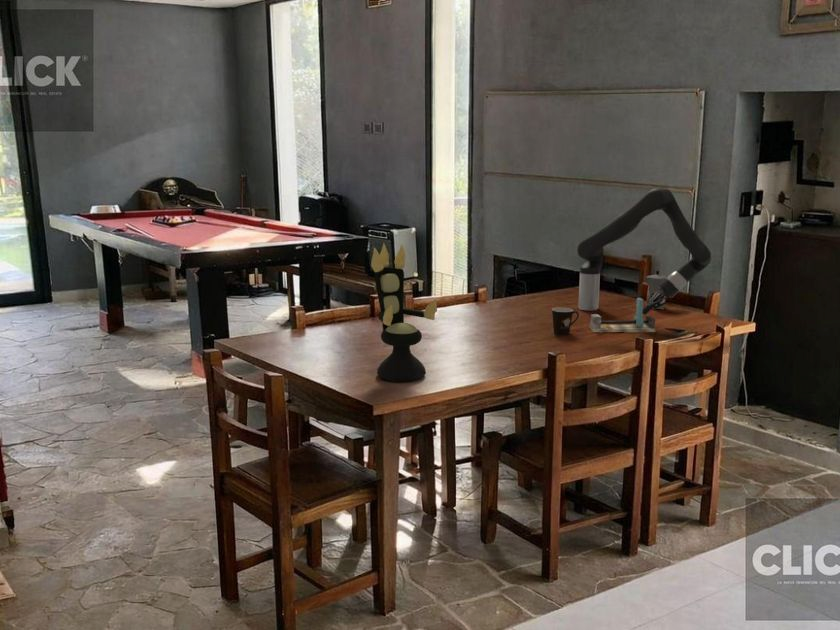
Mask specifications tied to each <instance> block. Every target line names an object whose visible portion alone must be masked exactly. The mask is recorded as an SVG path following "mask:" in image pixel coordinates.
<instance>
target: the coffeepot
mask: <svg viewBox="0 0 840 630" xmlns="http://www.w3.org/2000/svg"><path fill="white" fill-rule="evenodd" d="M668 276H669V275H662V274H660V271H659V270H656V272H655V274H652V275H647V276H644V277H643V280H645V282H646V284H647V286H648V294H647V295H648V297H647V300H648V299H649V297H650V295H651V294H652V293H653V294H655V293H656V292H657V291H659V290H660V288H659V285H660V284H661V283H662V282H663V281H664V280H665V279H666V278H667V277H668ZM646 305H647V303H646V304H645V306H646ZM665 306H666V305H665V304H664V305H662V306H660V307H658V308H656V309H662V308H665ZM665 309H666V308H665Z"/></svg>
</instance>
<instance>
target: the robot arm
mask: <svg viewBox="0 0 840 630" xmlns="http://www.w3.org/2000/svg"><path fill="white" fill-rule="evenodd" d="M660 210H661V211H663V212H664V214H666V215H667V217H668V218H669V220H670V223H671V225H672V228H673V231H674V234H675V236H676V237H677V239H678V240H679V242H680V243H681V245H682V246H683V247H684V248H685V249H687V251H688V252H689V254H690V255H691V256H692V257H691V258H690V259H689V260H688V261H687V262H683V263H682V264H681V265H679V267H678V268H677V269H675V270H674V271H673V272H672V273H670V274H669V275H667V276H668V277H667V278H666V279H665V280H664V281H663V282H662V283H661V284H660V285H659V288H660V290H659V291H657V292H656V293H655V294H653V293H652V294H651V295H650V297H649V299H648V298H647V300H646V304H647V305H646V304H645V306H643V314H642V315H645V316H647V314H648V313H649V312H650V311H651V309H656V308H658V307H660V306H662V305H665V304H666V303H667V302H666V300H667V299H668V298H669V299H672V298H674V297H675V296H676V295H677V294H678V293H679V292H680V291H682V289H683V288H684V287H685V286H686V285H687V284H688V283H689V282H691V280H692V279H693V278H694V277H695V275H697V274H698V273H700V272H701V271H703V270H704V269H705V268H706V267H708V266H709V265H710V263H711V261H712V253H711V251H710V248H709V247H708V246H707V245H706V244H705V243H704V242H703V241H702V240H701V239H700V238H699V237H700V236H699V235H698V234H697V233H696V232H695V230H694V229H693V227H692V225H690V223H689V221H688V220H687V219H686V217H685V215H684V214H683V212H682V210H681V208H680V206H679V204H678V202H677V200H676V198H675V196H674V194H673V193H672V191H671V190H670V189H668V188H665V187H662V188H661V187H660V188H653V189H651V190H649V191H647V193H645V195H643V197H642V198H640V199H639V200H638V201H637V202H636V203H635V204H633V205H632V206H630V207H629V208H627V209H626V210H624V211H623V212H621V213H620V214H618V215H617V216H615V218H613V219H611V221H609V222H607V224H605V225H604V226H603V227H601V228H600V229H599V230H598V231H596V232H595V233H594V234H592V235H590V236H588V237H587V238H585V239H583V240H581V242H579V243H578V246H577V248H576V249H577V250H576V251H577V255H578V256H579V258H582V259H584V262H583V264H581V266H580V267H579V285H578V287H579V288H578V310H581V311H590V312H591V311H598V310H599V300H600V278H601V270H602V266H603V259H604V247H605V246H607V245H609V244H611V243H614V242H616V241H619V240H620V239H623V238H624V237H626V236H628V234H630V233H632V232H633V231H634V230H635V229H636V228H637V227H638V226H639V224H640V223H641V222H642V220H643V219H644V218H645V217H647V216H649V215H650V214H652V213H653V212H656V211H660ZM597 309H598V310H597Z"/></svg>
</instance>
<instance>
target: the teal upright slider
mask: <svg viewBox="0 0 840 630" xmlns="http://www.w3.org/2000/svg"><path fill="white" fill-rule="evenodd" d="M643 308H644V299H643V298H641V297H636V307H635V316H633V321H636V323H633V324H634V325H636V327H640V326H644V324H645V323H644V320H645V318H644V317H643V315H644V314H643Z"/></svg>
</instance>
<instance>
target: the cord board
mask: <svg viewBox="0 0 840 630" xmlns="http://www.w3.org/2000/svg"><path fill="white" fill-rule="evenodd" d="M634 323H636V321H634V320H602V316H600V315H599V314H597V313H594V314H592V313H591V314H590V324H589V327H588V329H589V328H590V329H591V330H590V329H589V330H590V331H592V332H593V333H594V332H601V333H600V334H602V332H624V333H656V318H655V317H653V316H651V315H645V319H644V326H640V327H636V325H634Z"/></svg>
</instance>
